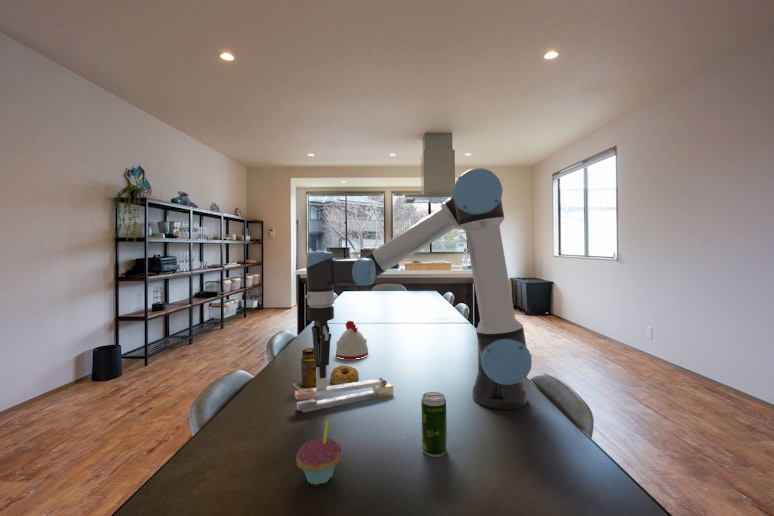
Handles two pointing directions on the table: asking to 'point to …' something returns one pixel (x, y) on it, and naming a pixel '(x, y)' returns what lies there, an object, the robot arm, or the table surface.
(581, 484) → the table surface
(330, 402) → the base
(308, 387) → the condiment
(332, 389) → the bar
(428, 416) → the beer can
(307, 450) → the cupcake
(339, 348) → the kitchen timer
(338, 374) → the bagel
